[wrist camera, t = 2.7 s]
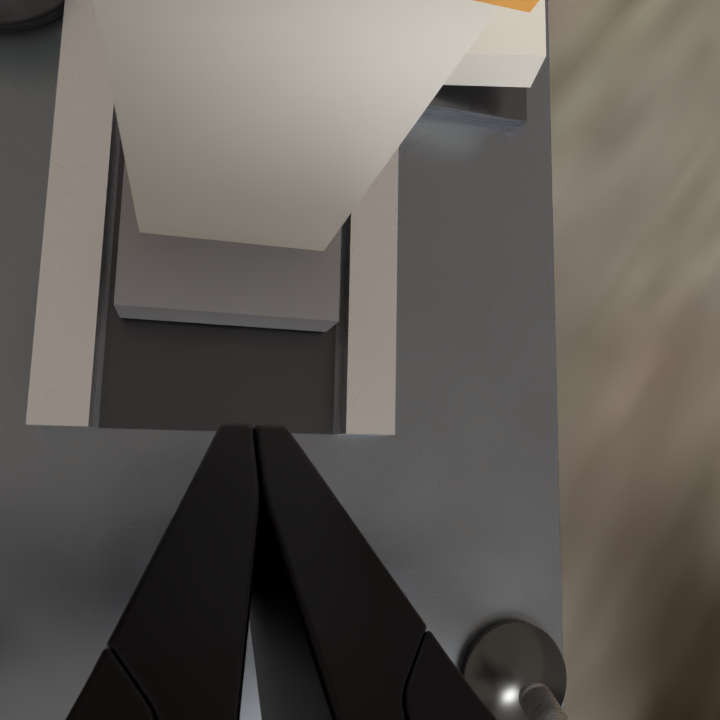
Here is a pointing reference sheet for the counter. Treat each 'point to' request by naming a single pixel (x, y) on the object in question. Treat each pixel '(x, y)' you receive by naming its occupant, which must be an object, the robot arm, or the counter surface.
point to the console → (279, 379)
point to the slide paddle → (262, 142)
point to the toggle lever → (539, 702)
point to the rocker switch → (505, 50)
